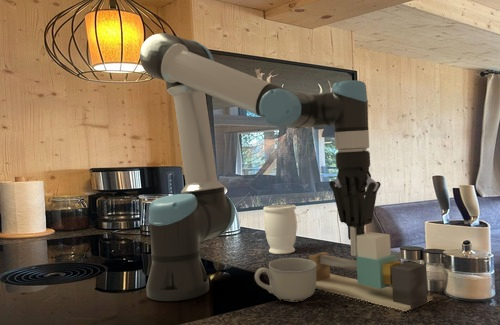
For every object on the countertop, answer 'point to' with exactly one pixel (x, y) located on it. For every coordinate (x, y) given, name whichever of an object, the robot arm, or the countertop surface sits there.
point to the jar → (280, 228)
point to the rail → (394, 273)
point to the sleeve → (373, 258)
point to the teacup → (290, 278)
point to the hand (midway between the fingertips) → (357, 254)
